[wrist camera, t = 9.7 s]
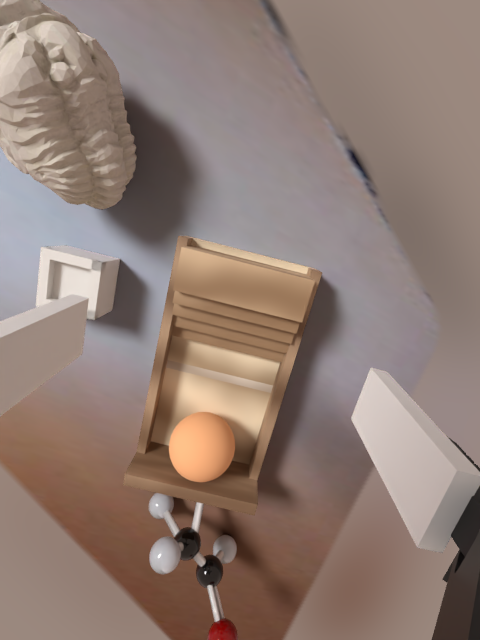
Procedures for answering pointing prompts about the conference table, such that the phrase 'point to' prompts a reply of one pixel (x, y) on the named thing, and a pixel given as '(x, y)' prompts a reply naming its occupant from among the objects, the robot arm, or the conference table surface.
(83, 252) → the white open box
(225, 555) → the molecular model
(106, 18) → the conference table surface
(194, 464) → the ball
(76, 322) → the robot arm
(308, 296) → the wooden stepped tray
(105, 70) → the fossil replica
